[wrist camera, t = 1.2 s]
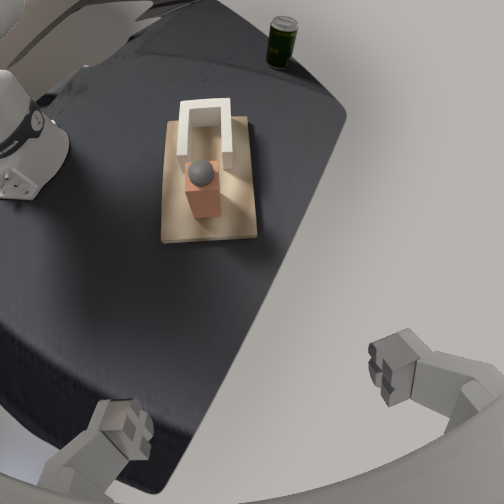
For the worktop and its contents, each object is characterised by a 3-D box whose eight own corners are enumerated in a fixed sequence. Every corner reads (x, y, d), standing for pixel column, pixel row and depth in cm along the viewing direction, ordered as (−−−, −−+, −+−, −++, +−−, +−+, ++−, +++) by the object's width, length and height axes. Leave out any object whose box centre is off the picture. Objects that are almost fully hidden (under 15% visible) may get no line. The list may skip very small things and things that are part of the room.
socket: (181, 172, 44) (176, 155, 39) (184, 119, 46) (180, 101, 41) (232, 169, 44) (232, 151, 39) (229, 116, 47) (229, 97, 42)
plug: (194, 218, 42) (183, 186, 32) (193, 193, 43) (184, 157, 33) (221, 216, 42) (218, 184, 32) (220, 191, 43) (217, 155, 33)
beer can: (292, 61, 54) (302, 20, 42) (285, 73, 53) (294, 30, 41) (270, 54, 54) (276, 13, 43) (261, 65, 53) (267, 22, 41)
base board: (163, 243, 42) (160, 240, 41) (169, 126, 47) (167, 121, 46) (256, 237, 43) (257, 234, 42) (246, 121, 49) (246, 116, 47)
